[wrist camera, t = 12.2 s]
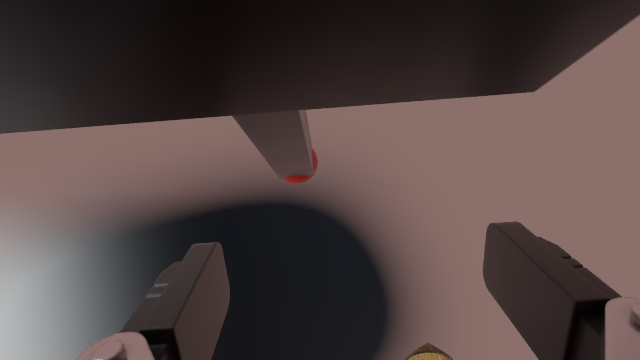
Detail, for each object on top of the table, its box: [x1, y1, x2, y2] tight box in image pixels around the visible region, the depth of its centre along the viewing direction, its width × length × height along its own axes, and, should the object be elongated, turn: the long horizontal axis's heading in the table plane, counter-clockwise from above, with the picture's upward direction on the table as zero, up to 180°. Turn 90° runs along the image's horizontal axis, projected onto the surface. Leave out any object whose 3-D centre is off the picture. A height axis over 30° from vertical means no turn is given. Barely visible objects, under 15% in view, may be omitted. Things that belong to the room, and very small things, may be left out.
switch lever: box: [232, 110, 318, 183], centre depth 15 cm, size 20×3×3 cm, turn 178°
